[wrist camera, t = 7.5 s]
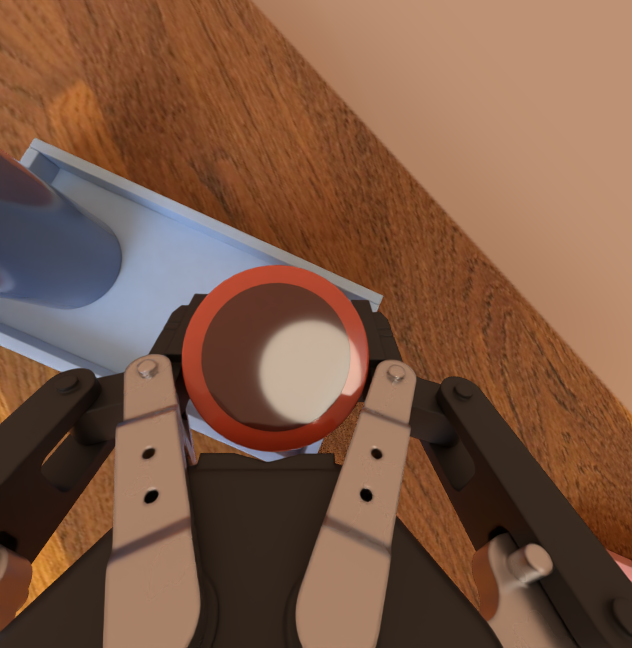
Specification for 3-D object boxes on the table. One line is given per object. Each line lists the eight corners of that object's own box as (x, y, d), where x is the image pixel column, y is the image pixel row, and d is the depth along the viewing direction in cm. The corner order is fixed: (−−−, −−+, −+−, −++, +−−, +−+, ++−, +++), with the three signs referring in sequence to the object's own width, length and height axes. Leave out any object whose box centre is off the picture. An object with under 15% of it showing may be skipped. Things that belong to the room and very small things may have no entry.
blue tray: (63, 161, 18) (34, 136, 16) (374, 302, 18) (383, 295, 16) (-33, 317, 16) (-77, 312, 14) (305, 464, 17) (306, 479, 15)
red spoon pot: (260, 291, 17) (232, 234, 9) (350, 331, 17) (397, 309, 9) (217, 382, 16) (145, 405, 8) (310, 423, 17) (325, 485, 9)
